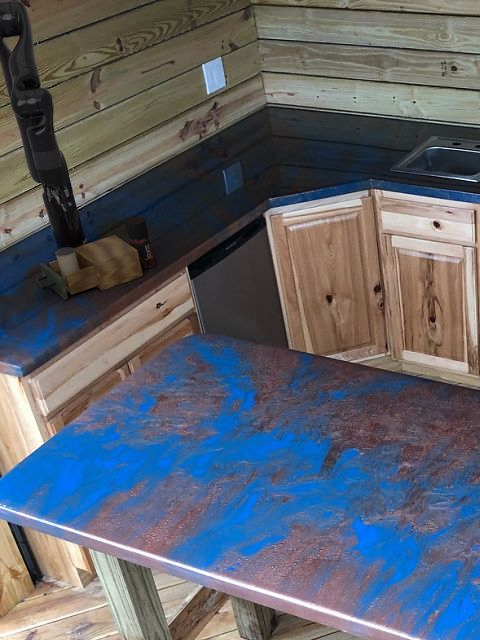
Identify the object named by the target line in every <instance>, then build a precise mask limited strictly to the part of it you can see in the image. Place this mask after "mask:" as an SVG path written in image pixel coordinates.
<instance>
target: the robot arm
mask: <svg viewBox="0 0 480 640" xmlns="http://www.w3.org/2000/svg"><path fill="white" fill-rule="evenodd" d="M13 38H18V40H17V43H16V44H15V45H14V47H13V49H12V50H11V48H10V47H9V45H8V44H7V42H6V40H5V39H13ZM0 66H1V71H2V74H3V79H4V82H5V86H6V89H7V94H8V98H9V102H10V107H11V110H12V112H13V114H14V117H15V120H16V123H17V127H18V131H19V134H20V138H21V142H22V148H23V153H24V157H25V162H26V165H27V169H28V172H29V175H30V177H31V178H32V180H33V181H34V182H35V183H36V184H41V185H42V190H43V192H42V195H41V198H42V201H43V204H44V208H45V211H46V214H47V218H48V221H49V224H50V228H51V231H52V236H53V238H54V243H55V245H56V249H57V250H58V249H61V248H66V247H70V248H76V247H79V246H82V245H85V244H88V237H86V234H85V232H84V231H85V230H84V228H83V224H82V220H81V217H80V213H79V209H78V205H77V201H76V198H75V195H74V190H73V184H72V182H71V176H70V172H69V167H68V163H67V160H66V157H65V155H64V153H63V151H62V150H61V148H60V146H59V143H58V139H57V135H56V131H55V124H54V112H55V111H54V109H55V108H54V107H55V106H54V105H55V103H54V98H53V97H54V96H53V95H52V94H51V92H50V91H49V90H48V89H47V88H45V87H42V81H41V77H40V74H39V70H38V66H37V61H36V56H35V44H34V35H33V29H32V23H31V20H30V16H29V11H28V10H27V7H26V5H25V3H23V2H22V1H21V0H4V1H2V0H1V1H0Z"/></svg>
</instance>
